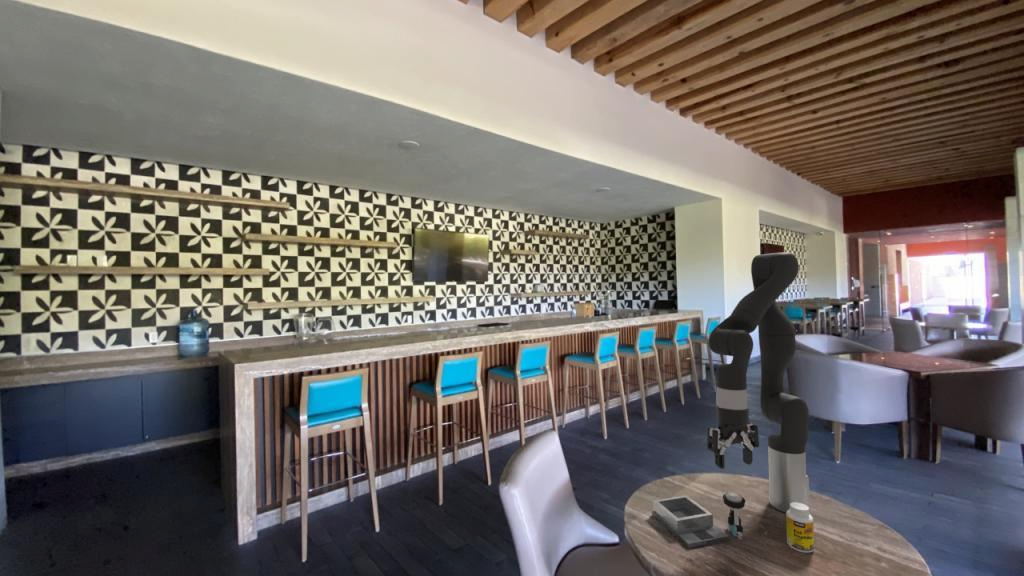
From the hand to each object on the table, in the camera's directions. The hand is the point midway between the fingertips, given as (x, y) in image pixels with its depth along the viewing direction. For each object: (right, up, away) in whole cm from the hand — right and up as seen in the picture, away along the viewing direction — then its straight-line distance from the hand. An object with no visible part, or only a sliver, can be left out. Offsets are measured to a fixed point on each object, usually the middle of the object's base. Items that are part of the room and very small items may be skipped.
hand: (733, 465), depth 109 cm
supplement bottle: (+13, -18, -6) cm, 23 cm away
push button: (0, -18, 0) cm, 18 cm away
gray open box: (-11, -18, +3) cm, 21 cm away
